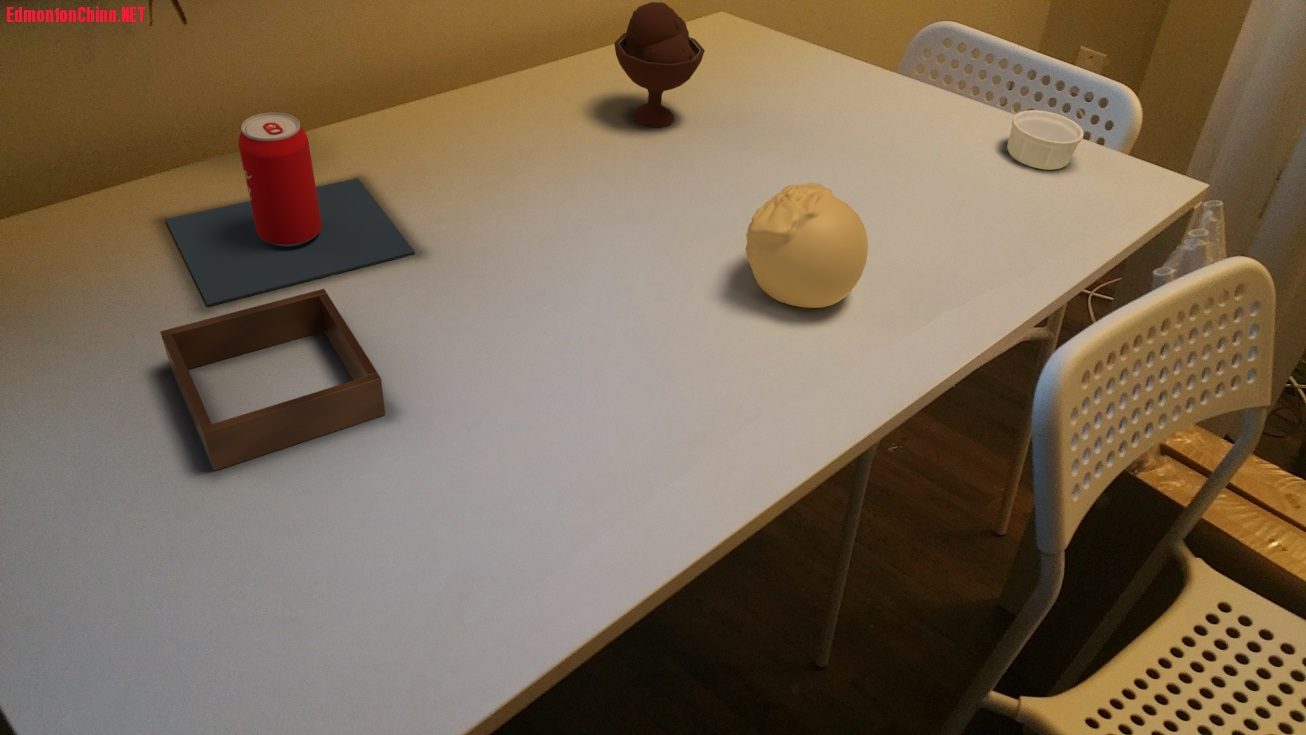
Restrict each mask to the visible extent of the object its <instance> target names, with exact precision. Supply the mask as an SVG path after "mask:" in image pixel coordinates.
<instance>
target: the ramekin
mask: <svg viewBox="0 0 1306 735" xmlns="http://www.w3.org/2000/svg"><path fill="white" fill-rule="evenodd" d="M1084 134H1085V133H1084V130H1083V128H1082V127H1081V126H1080V125H1079V124H1078V123H1077V122H1075V121H1074V120H1072V119H1070V118H1069V117H1066V116H1063V115H1062V114H1058V113H1055V112H1051V111H1046V110H1038V109H1037V110H1034V109H1032V110H1031V109H1030V110H1023V111H1019V112H1017V113H1016V114H1014V115H1013V116H1012V121H1011V129H1010V133H1009V137H1008V141H1007V146H1006V147H1007V151H1008V153H1009V155H1010V157H1012V158H1013V159H1014V160H1015V161H1017V162H1019V163H1020V164H1022V165H1025V166H1028V167H1030V168H1034V169H1039V170H1045V171H1047V170H1049V171H1051V170H1059V169H1062V168H1064V167H1066V166H1067V165H1068V164H1069V163H1070V162H1071V159H1072V157H1073V155H1074V153H1075V151H1076V149H1077V147H1078V146H1079V144H1080V143H1081V142H1082V140H1083V138H1084Z"/></svg>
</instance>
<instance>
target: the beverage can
mask: <svg viewBox="0 0 1306 735" xmlns="http://www.w3.org/2000/svg"><path fill="white" fill-rule="evenodd" d="M240 129H241V131H240V133H239V138H238V149H239V154H240V159H241V165H242V168H243V174H244V178H245V182H246V183H245V184H246V187H247V193H248V197H249V201H250V202H251V207H252V212H253V216H254V221H255V226H256V230H257V234H258V236H259V237H260V238H261V239H262V240H264V241H266V242H268V243H270V244H274V245H277V246H283V247H291V246H297V245H301V244H304V243H306V242H308V241H310V240H311V239H313V238H314V237H315V236H316V235H317V234H318V233H319V232H320V230H321V227H322V223H321V217H320V210H319V204H318V198H317V192H316V187H317V186H316V179H315V174H314V167H313V161H312V155H311V149H310V148H311V147H310V142H309V138H308V135H307V133H306V131H305V130H304V129H303V127H302V125H301V122H300V121H299V119H298V118H297V117H296V116H294V115H291V114H288V113H283V112H263V113H258V114H255V115H252V116H250V117H248V118H247V119H245V120H244V121H243V122H242V123H241V126H240Z"/></svg>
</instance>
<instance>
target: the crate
mask: <svg viewBox="0 0 1306 735" xmlns="http://www.w3.org/2000/svg"><path fill="white" fill-rule="evenodd" d="M322 332H324V334H325V335H326V337H327V338H328V340H329V342H330V343H331V345H332V347H333V348H334V350H335V351H336V353H337V355H338V356H339V358H340V360H341V361H342V363H343V364H344V366H345V368H346V370H347V371H348V373H349V374H350V376H351V378H352V380H351V381H348V382H344V383H341V384H338V385H334V386H331V387H328V388H325V389H321V390H318V391H315V392H311V393H308V394H305V395H302V396H299V397H296V398H293V399H290V400H286V401H282V402H280V403H275V404H272V405H269V406H266V407H264V408H260V409H257V410H254V411H250V412H247V413H243V414H240V415H237V416H234V417H231V418H227V419H224V420H221V421H217V422H214V423H212V421H211V419H210V416H209V414H208V412H207V410H206V407H205V404H204V403H203V400H202V398H201V396H200V394H199V392H198V389H197V387H196V384H195V382H194V380H193V377H192V375H191V373H190V371H189V370H191V369H194V368H197V367H202V366H204V365H208V364H212V363H216V362H218V361H222V360H226V359H229V358H234V357H236V356H240V355H245V354H248V353H250V352H254V351H255V352H256V351H258V350H262V349H265V348H269V347H272V346H275V345H280V344H284V343H286V342H287V343H288V342H290V341H294V340H298V339H301V338H304V337H308V336H311V335H315V334H318V333H322ZM160 336H161V340H162V342H163V346H164V349H165V352H166V357H167V359H168V363H169V366H170V369H171V371H172V374H173V376H174V378H175V381H176V383H177V386H178V388H179V390H180V393H181V396H182V398H183V400H184V403H185V405H186V407H187V409H188V412H189V414H190V417H191V419H192V421H193V424H194V426H195V429H196V431H197V434H198V436H199V438H200V440H201V443H202V445H203V448H204V450H205V453H206V455H207V458H208V460H209V462H210V465H211V467H212V469H213V471H214V472H216V471H220V470H222V469H225V468H228V467H232V466H234V465H237V464H240V463H243V462H247V461H250V460H252V459H256V458H257V457H261V456H264V455H268V454H271V453H273V452H276V451H279V450H282V449H286V448H289V447H291V446H295V445H298V444H300V443H303V442H306V441H310V440H312V439H316V438H319V437H322V436H325V435H329V434H331V433H334V432H338V431H340V430H343V429H346V428H350V427H352V426H355V425H359V424H361V423H365V422H367V421H368V422H369V421H370V420H373V419H377V418H379V417H382V416H385V415H386V408H385V407H386V406H385V399H384V398H385V397H384V391H383V390H384V389H383V381H382V377H381V376H380V374H379V373H378V371H377V370H376V368H375V366H374V365H373V363H372V362H371V360H370V358H369V356H367V354H366V352H365V351H364V349H363V347H362V346H361V344H360V342H359V341H358V339H357V338H356V336H355V335H354V333H353V332H352V330H351V329H350V327H349V325H348V324H347V322H346V321H345V319H344V317H343V316H342V314H341V313H340V311H339V310H338V308H337V307H336V305H335V303H334V302H333V300H332V299H331V297H330V295H329V294H328V292H327V291H326V290H325V288H322V289H321V288H320V289H317V290H313V291H309V292H306V293H305V292H304V293H301V294H298V295H295V296H290V297H287V298H282V299H279V300H276V301H271V302H268V303H264V304H259V305H255V306H252V307H248V308H244V309H241V310H236V311H232V312H229V313H225V314H221V315H218V316H214V317H210V318H206V319H202V320H199V321H195V322H191V323H187V324H183V325H179V326H175V327H172V328H167V329H164V330H161V331H160Z"/></svg>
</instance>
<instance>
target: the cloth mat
mask: <svg viewBox="0 0 1306 735" xmlns="http://www.w3.org/2000/svg"><path fill="white" fill-rule="evenodd" d="M316 192H317V198H318V204H319V210H320V217H321V223H322V227H321V230H320V232H319V233H318V234H317V235H316V236H315V237H314V238H313V239H311V240H310V241H308V242H306V243H304V244H301V245H297V246H291V247H283V246H277V245H274V244H270V243H268V242H266V241H264V240H262V239H261V238H260V237H259V236H258V234H257V230H256V226H255V221H254V216H253V212H252V207H251V202H250V200H249V201H243V202H239V203H235V204H229V205H225V206H220V207H215V208H212V209H205V210H202V211H197V212H192V213H188V214H183V215H177V216H173V217H169V218H165V223H166V225H167V226H168V229H169V231H170V233H171V235H172V237H173V239H174V241H175V243H176V245H177V247H178V250H179V251H180V253H181V256H182V257H183V259H184V261H185V263H186V265H187V268H188V271H189V272H190V274H191V276H192V278H193V280H194V282H195V284H196V286H197V288H198V290H199V292H200V294H201V296H202V298H203V300H204V302H205V304H206V306H207V307H208V308H209V307H213V306H217V305H221V304H224V303H228V302H232V301H237V300H240V299H244V298H248V297H252V296H256V295H260V294H263V293H264V294H265V293H268V292H271V291H275V290H280V289H283V288H287V287H291V286H295V285H298V284H299V285H300V284H302V283H303V284H304V283H306V282H311V281H315V280H319V279H323V278H327V277H330V276H334V275H339V274H342V273H347V272H350V271H353V270H357V269H362V268H365V267H370V266H373V265H377V264H381V263H385V262H390V261H393V260H397V259H401V258H404V257H409V256H413V255H415V254H416V251H415V250H414V249H413V247H412V246H411V245H410V243H409V241H408V240H407V239H406V238H405V237H404V236H403V234H402V233H401V231H399V229H398V228H397V226H396V225H395V224H394V222H393V221H392V220H391V219H390V217H389V216H388V215H387V213H386V212H385V211H384V209H383V208H382V207H381V206H380V204H379V203H378V202H377V201H376V199H375V198H374V197H373V195H371V193H370V192H369V190H368V189H367V188H366V187H365V185H364V184H363V182H361V180H360V179H359V178H358V177H357V178H353V179H348V180H343V181H338V182H334V183H329V184H324V185H319V186H316Z"/></svg>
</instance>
